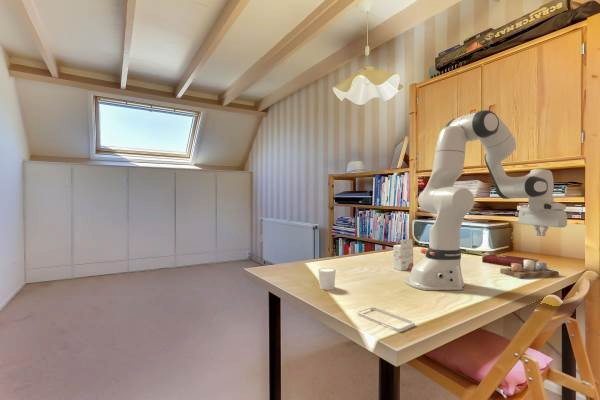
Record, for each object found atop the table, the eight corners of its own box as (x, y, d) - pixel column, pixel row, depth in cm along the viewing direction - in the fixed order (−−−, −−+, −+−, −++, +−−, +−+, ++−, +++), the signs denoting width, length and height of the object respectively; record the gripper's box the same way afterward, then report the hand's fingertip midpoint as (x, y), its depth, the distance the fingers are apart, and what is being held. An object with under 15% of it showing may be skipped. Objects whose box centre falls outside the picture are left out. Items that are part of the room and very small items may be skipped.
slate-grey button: (541, 273, 134) (541, 263, 134) (533, 271, 137) (533, 261, 137) (548, 273, 134) (548, 263, 134) (540, 271, 138) (540, 261, 138)
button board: (519, 278, 128) (519, 273, 128) (500, 272, 138) (500, 268, 138) (558, 276, 131) (558, 271, 131) (537, 270, 141) (537, 266, 141)
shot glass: (321, 291, 113) (321, 272, 113) (315, 286, 120) (315, 268, 120) (338, 289, 115) (338, 271, 115) (332, 284, 122) (331, 267, 122)
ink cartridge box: (405, 266, 152) (405, 237, 152) (413, 268, 148) (413, 238, 148) (393, 268, 148) (393, 238, 148) (400, 270, 144) (400, 240, 144)
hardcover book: (528, 270, 143) (528, 262, 143) (482, 263, 161) (482, 255, 161) (538, 267, 150) (538, 259, 150) (493, 260, 167) (493, 252, 167)
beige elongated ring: (415, 327, 82) (372, 310, 94) (415, 322, 82) (372, 306, 94) (398, 334, 78) (356, 316, 90) (398, 329, 78) (356, 311, 90)
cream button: (529, 271, 132) (529, 261, 132) (521, 269, 136) (521, 259, 136) (536, 271, 133) (536, 261, 133) (528, 269, 137) (528, 259, 137)
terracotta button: (516, 275, 131) (516, 265, 131) (509, 273, 135) (508, 263, 135) (523, 274, 132) (523, 264, 132) (516, 272, 136) (516, 262, 136)
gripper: (514, 204, 145) (514, 233, 145) (557, 205, 125) (557, 238, 125) (525, 204, 146) (525, 233, 146) (570, 205, 126) (570, 238, 126)
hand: (540, 235), depth 136 cm, fingers closed
